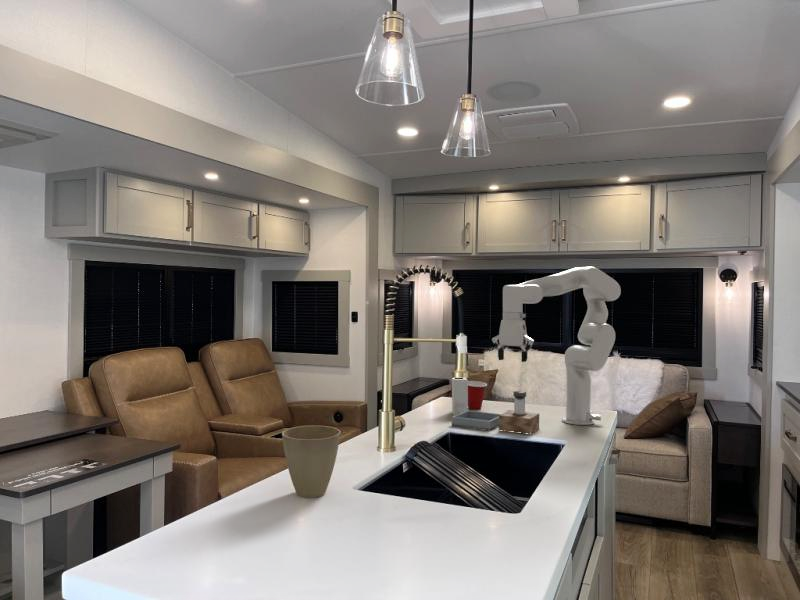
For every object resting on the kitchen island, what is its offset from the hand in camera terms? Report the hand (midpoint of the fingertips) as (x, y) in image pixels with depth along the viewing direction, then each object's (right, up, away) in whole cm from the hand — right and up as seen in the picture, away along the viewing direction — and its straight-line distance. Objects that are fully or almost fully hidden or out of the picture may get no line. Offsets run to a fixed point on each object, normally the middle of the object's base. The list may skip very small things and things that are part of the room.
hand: (512, 360), depth 228 cm
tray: (-12, -26, +7) cm, 30 cm away
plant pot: (-67, -27, -77) cm, 105 cm away
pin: (+2, -27, -1) cm, 27 cm away
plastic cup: (-9, -26, +40) cm, 49 cm away
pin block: (+2, -27, -1) cm, 27 cm away
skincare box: (-18, -26, +28) cm, 42 cm away
